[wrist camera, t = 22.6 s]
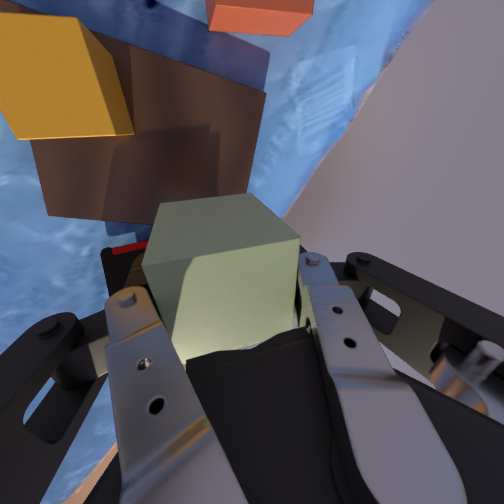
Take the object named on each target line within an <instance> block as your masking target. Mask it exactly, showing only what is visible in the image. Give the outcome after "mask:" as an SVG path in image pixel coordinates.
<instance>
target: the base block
mask: <svg viewBox="0 0 504 504" xmlns="http://www.w3.org/2000/svg"><path fill="white" fill-rule="evenodd" d="M313 6H314V0H206V8H207V18H208V28H209V31H219V32H233V33H247V34H261V35H275V36H290V35H291V34H292V33H293V32H294V31H295V30H296V29H298V28H299V27H300V26H301V25H302V24H303V23H304V22H305V21H307V20H308V19H309V18H310V17H311V16H312V15H313Z"/></svg>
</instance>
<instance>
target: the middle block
mask: <svg viewBox="0 0 504 504" xmlns="http://www.w3.org/2000/svg"><path fill="white" fill-rule="evenodd" d="M300 239H301V238H300V235H298V234H297V233H296V232H295V231H294V230H293V229H291V228H290V227H289V226H288V225H287V224H286V223H285V222H284V221H282V220H281V219H280V218H279V217H278V216H277V215H276V214H274V213H273V212H272V211H271V210H270V209H269V208H268V207H266V206H265V205H264V204H263V203H262V202H261V201H260V200H258V199H257V198H256V197H255V196H254V195H253V194H252V193H245V194H236V195H228V196H219V197H210V198H202V199H193V200H185V201H176V202H167V203H161V204H160V205H159V209H158V212H157V215H156V218H155V222H154V225H153V228H152V231H151V235H150V238H149V241H148V245H147V248H146V251H145V254H144V258H143V261H142V265H141V266H142V268H143V271H144V274H145V276H146V279H147V281H148V284H149V287H150V289H151V292H152V294H153V297H154V300H155V302H156V305H157V307H158V310H159V313H160V315H161V318H162V320H163V323H164V326H165V328H166V331H167V333H168V335H169V337H170V339H171V341H172V343H173V346H174V348H175V350H176V352H177V354H178V356H179V358H180V361H181V363H182V365H183V364H186V360H187V359H191V358H194V357H198V356H201V355H205V354H208V353H212V352H215V351H223V350H234V349H237V348H241V347H244V346H248V345H251V344H254V343H258V342H261V341H264V340H268V339H270V338H271V337H273V336H275V335H276V334H278V333H282V332H285V331H289V330H292V322H293V312H294V301H295V291H296V281H297V270H298V260H299V250H300Z"/></svg>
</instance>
